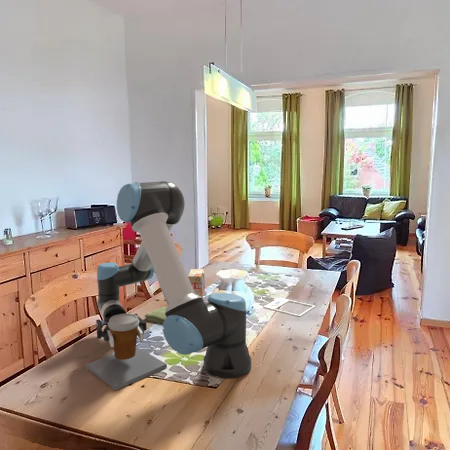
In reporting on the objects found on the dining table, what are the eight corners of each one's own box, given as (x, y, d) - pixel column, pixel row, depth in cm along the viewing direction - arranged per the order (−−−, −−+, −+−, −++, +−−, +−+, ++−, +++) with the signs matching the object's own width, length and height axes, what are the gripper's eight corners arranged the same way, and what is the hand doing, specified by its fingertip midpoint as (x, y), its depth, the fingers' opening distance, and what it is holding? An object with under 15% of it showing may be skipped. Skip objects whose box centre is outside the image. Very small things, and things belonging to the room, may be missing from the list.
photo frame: (280, 297, 190) (315, 305, 179) (279, 299, 190) (315, 307, 179) (263, 306, 178) (300, 315, 168) (263, 308, 179) (299, 318, 168)
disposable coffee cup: (113, 365, 121) (111, 327, 119) (106, 351, 129) (104, 316, 127) (144, 358, 125) (143, 321, 123) (136, 345, 133) (134, 311, 131)
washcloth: (162, 310, 177) (161, 303, 177) (196, 317, 169) (196, 310, 168) (142, 321, 166) (142, 313, 165) (178, 328, 158) (178, 321, 157)
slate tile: (166, 367, 127) (166, 363, 127) (115, 390, 115) (115, 386, 114) (135, 349, 140) (135, 345, 140) (85, 367, 127) (85, 364, 127)
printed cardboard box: (192, 287, 209) (192, 264, 207) (204, 287, 208) (204, 264, 206) (188, 301, 187) (187, 275, 185) (202, 301, 187) (201, 275, 185)
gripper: (144, 319, 147) (161, 345, 126) (83, 329, 138) (91, 359, 118) (143, 299, 146) (161, 322, 125) (81, 308, 137) (90, 334, 116)
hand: (127, 340), depth 121 cm, fingers closed on disposable coffee cup, 8 cm apart
